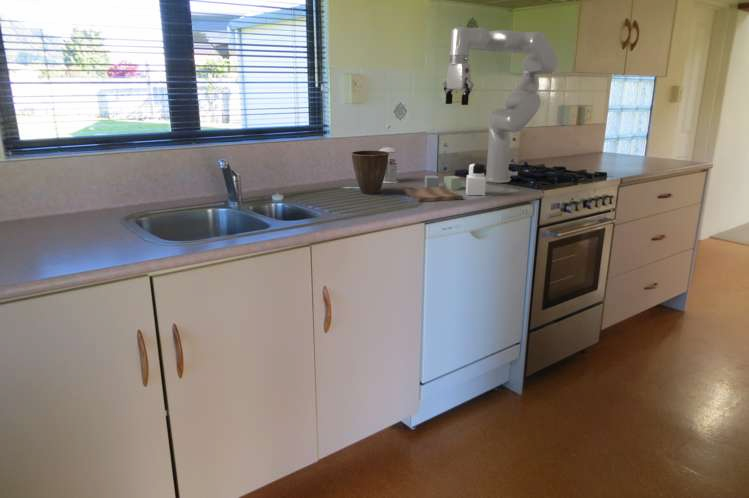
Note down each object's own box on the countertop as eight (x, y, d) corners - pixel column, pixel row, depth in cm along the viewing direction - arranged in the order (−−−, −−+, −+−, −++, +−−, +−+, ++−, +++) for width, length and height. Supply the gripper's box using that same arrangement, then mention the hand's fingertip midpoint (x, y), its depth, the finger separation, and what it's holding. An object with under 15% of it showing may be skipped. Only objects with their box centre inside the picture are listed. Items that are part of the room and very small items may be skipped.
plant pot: (344, 192, 213) (343, 152, 208) (370, 187, 223) (370, 149, 218) (370, 197, 203) (370, 156, 198) (396, 192, 213) (396, 152, 208)
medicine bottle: (483, 192, 214) (485, 162, 210) (485, 196, 207) (487, 165, 203) (465, 191, 214) (467, 162, 211) (466, 195, 208) (468, 165, 204)
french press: (399, 179, 239) (400, 123, 231) (397, 184, 228) (398, 126, 220) (377, 179, 240) (377, 123, 232) (375, 184, 229) (375, 125, 221)
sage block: (452, 187, 224) (453, 175, 222) (460, 189, 219) (460, 177, 218) (443, 188, 221) (443, 176, 220) (450, 190, 217) (451, 178, 216)
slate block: (436, 187, 224) (436, 175, 222) (438, 189, 219) (438, 177, 217) (424, 187, 223) (424, 175, 222) (426, 189, 219) (427, 178, 217)
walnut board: (444, 190, 217) (444, 186, 217) (462, 199, 201) (463, 195, 200) (403, 192, 213) (403, 188, 213) (418, 202, 196) (418, 198, 196)
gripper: (481, 60, 206) (478, 105, 212) (451, 61, 220) (449, 103, 225) (467, 59, 202) (464, 105, 208) (438, 60, 216) (436, 103, 221)
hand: (456, 104), depth 216 cm, fingers open, 9 cm apart
